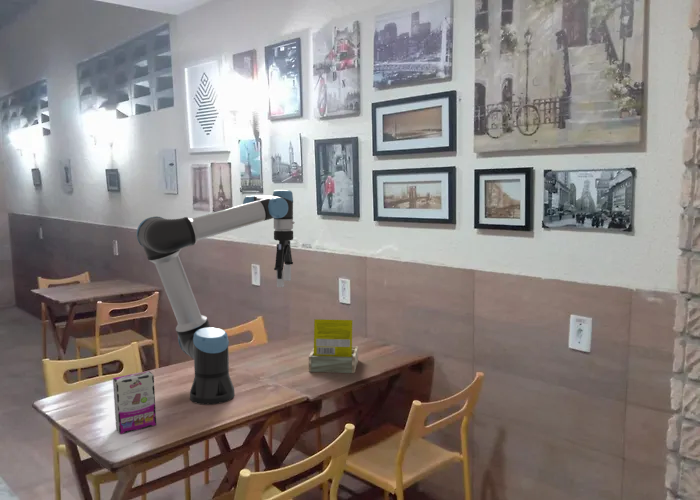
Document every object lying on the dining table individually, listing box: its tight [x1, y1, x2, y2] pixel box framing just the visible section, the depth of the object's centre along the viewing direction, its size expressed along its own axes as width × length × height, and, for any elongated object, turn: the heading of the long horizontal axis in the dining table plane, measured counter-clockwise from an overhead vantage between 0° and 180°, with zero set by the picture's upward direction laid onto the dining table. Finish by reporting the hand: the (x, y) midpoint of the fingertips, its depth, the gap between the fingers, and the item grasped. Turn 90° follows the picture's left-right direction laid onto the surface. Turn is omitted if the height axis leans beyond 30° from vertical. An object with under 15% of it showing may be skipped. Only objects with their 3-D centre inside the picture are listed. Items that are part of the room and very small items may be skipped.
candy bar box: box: [112, 370, 157, 435], centre depth 180 cm, size 11×5×16 cm, turn 126°
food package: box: [313, 318, 353, 357], centre depth 235 cm, size 15×1×20 cm, turn 86°
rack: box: [308, 345, 359, 374], centre depth 240 cm, size 16×18×6 cm
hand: (284, 283), depth 231 cm, fingers open, 13 cm apart
